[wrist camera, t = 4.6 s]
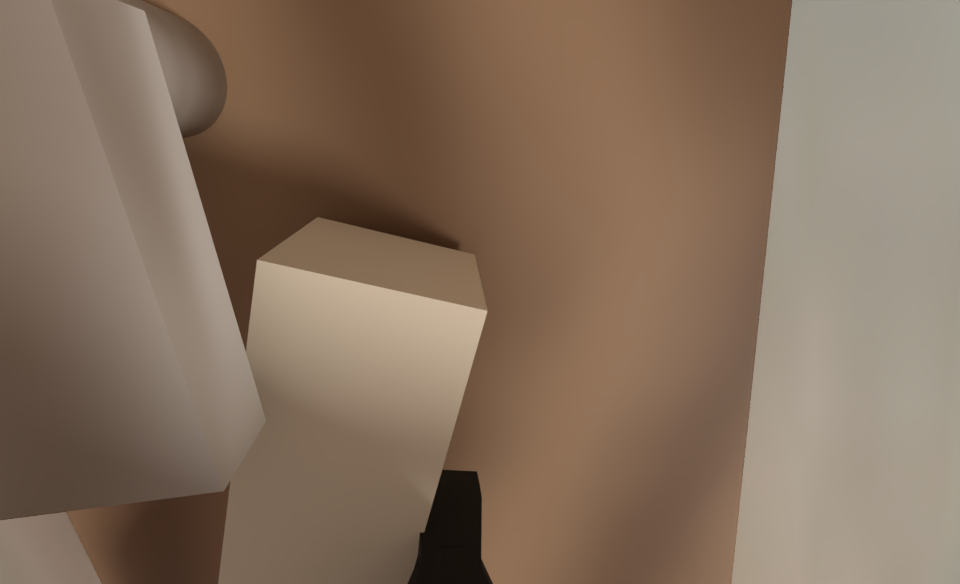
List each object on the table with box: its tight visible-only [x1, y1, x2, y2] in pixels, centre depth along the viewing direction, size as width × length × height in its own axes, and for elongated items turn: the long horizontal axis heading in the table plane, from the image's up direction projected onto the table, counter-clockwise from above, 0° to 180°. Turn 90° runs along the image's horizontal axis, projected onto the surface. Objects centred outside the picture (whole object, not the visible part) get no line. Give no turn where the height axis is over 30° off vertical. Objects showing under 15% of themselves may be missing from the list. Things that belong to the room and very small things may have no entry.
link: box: [218, 217, 487, 584], centre depth 9 cm, size 12×4×4 cm, turn 165°
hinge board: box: [0, 0, 792, 584], centre depth 8 cm, size 16×18×6 cm
